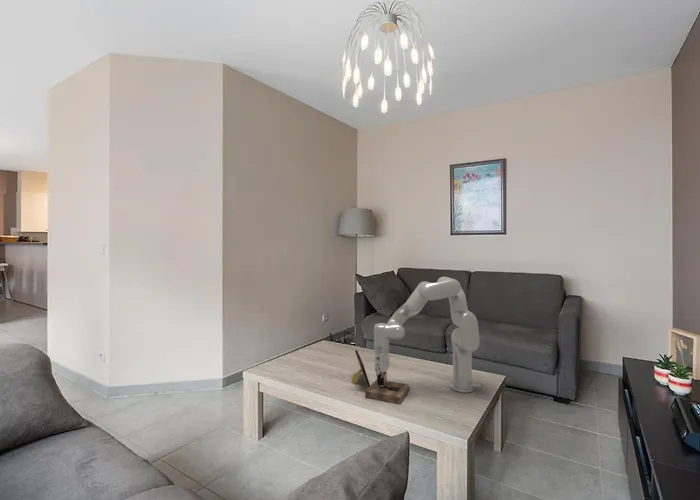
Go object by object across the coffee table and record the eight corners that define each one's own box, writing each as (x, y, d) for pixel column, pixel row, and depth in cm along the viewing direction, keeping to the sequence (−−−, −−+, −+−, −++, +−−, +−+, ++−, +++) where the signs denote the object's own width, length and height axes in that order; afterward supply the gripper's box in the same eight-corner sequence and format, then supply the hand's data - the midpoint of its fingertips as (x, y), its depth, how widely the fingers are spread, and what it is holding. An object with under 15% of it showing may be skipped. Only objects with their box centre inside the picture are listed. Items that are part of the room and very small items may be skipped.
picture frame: (371, 391, 183) (368, 363, 182) (354, 394, 182) (351, 366, 181) (364, 374, 206) (361, 349, 205) (349, 376, 205) (346, 351, 204)
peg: (387, 391, 181) (387, 372, 181) (384, 395, 177) (384, 375, 177) (379, 390, 183) (379, 371, 183) (376, 393, 179) (376, 374, 179)
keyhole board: (409, 391, 182) (409, 384, 182) (400, 404, 168) (399, 397, 168) (376, 385, 190) (376, 379, 190) (365, 397, 176) (365, 390, 176)
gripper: (382, 354, 170) (383, 391, 171) (393, 344, 185) (394, 378, 186) (368, 352, 174) (369, 388, 174) (380, 342, 189) (380, 376, 189)
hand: (382, 383), depth 180 cm, fingers closed on peg, 4 cm apart
